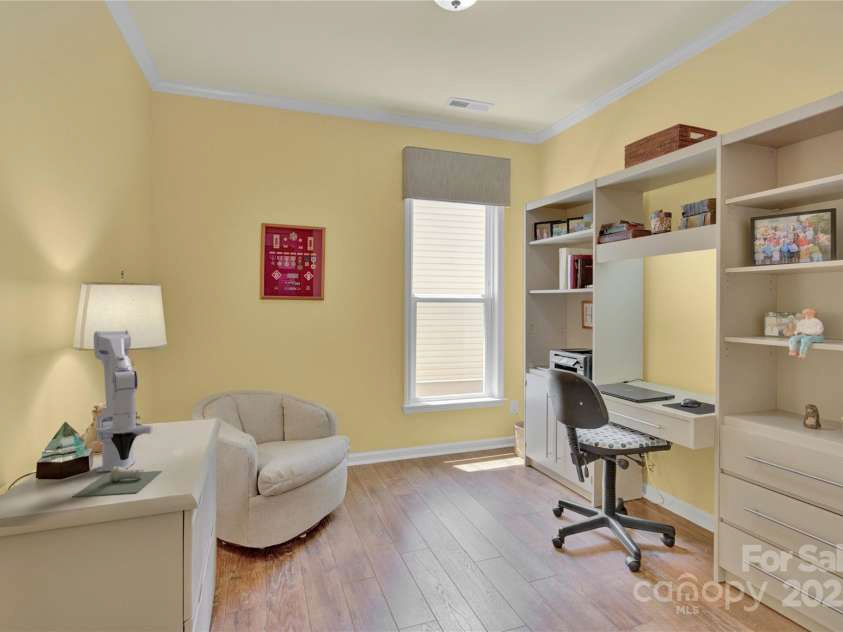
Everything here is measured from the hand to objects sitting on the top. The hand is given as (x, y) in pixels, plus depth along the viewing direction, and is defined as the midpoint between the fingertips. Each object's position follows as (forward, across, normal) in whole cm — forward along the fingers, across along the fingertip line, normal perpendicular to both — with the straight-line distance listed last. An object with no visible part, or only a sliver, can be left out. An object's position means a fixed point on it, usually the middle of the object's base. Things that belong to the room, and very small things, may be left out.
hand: (124, 459), depth 138 cm
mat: (+7, -1, -1) cm, 7 cm away
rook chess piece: (+4, -4, 0) cm, 6 cm away
